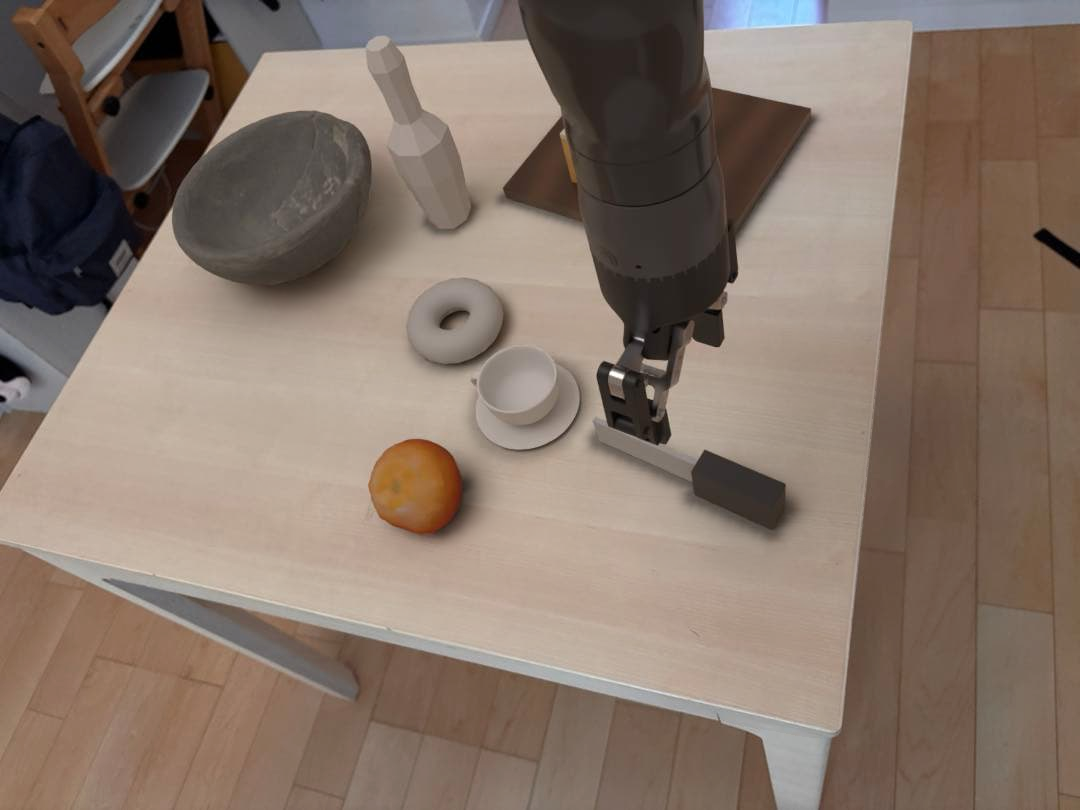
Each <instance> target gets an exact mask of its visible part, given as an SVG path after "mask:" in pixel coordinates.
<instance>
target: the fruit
mask: <svg viewBox="0 0 1080 810" xmlns="http://www.w3.org/2000/svg"><path fill="white" fill-rule="evenodd" d="M463 486H464V482H463V478H462V475H461V472H460V469H459V465H458V463H457V461H456V459H455V458H454V456H453V454H452V453H451V452H450V451H449V450H448V449H446V448H445V447H444V446H442V445H440V444H438V443H437V442H434V441H432V440H428V439H424V438H408V439H404V440H403V441H401V442H398V443H394V444H392V445H391V446H390V447H388V448H386V449H385V450H384V451H383V453H382V454H381V455H380V456H379V457H378V459H377V460H376V462H375V463H374V465H373V469H372V471H371V473H370V478H369V481H368V484H367V487H368V491H369V494H370V500H371V502H372V505H373V506H374V509H375V511H376V513H377V515H378V517H379V518H380V519H381V520H383V521H385V522H386V523H388V525H391V526H392V527H394V528H399V529H402V530H405V531H409V532H410V533H414V534H417V535H428V534H432V533H435V532H437V531H438V530H440V529H441V528H444V527H445V526H446V525H448V524H449V523H450V522H451V521H452V520H453V519H454V517H455V515H456V513H457V511H458V510H459V508H460V507H461V505H462V501H463V496H464V487H463Z"/></svg>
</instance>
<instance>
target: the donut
mask: <svg viewBox="0 0 1080 810" xmlns="http://www.w3.org/2000/svg"><path fill="white" fill-rule="evenodd" d="M461 311H462V312H463V311H464V312H467V313H469V317H468V319H466V321H465V322H464V323H463V324H461V325H460V326H458V327H456V328H452V329H443V328H441V324H442V322H443V320H444V319H445V318H446V317H448V316H449V315H450V314H453V313H455V312H461ZM503 320H504V308H503V305H502V301H501V298H500V297H499V296H498V294H497V293H496V291H495V290H494V289H493V288H492V287H491V286H490V285H488V284H487V283H484V282H482V281H481V280H478V279H475V278H469V277H455V278H449V279H446V280H443V281H440V282H437V283H435V284H434V285H432V286H430V287H429V288H427V289H425V290H424V291H423V292H422V293H421V294H420V296H418V297H417V298H416V300H415V301H414V302H413V304H412V306H411V308H410V309H409V310H408V315H407V320H406V328H405V329H406V333H407V337H408V342H409V343H410V345H411V346H412V348H413V349H414V351H415V352H416V353H418V354H419V355H420V356H422V357H423V358H424V359H426V360H427V361H430V362H434V363H439V364H443V365H447V364H459V363H462V362H463V363H464V362H465V361H469V360H472V359H474V358H476V357H477V356H480V355H481V354H483V352H485V351H487V349H489V347H490V346H491V345H493V343H494V342H495V341H496V339H497V337H498V335H499V334H500V331H501V330H502V326H503Z"/></svg>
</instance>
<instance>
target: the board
mask: <svg viewBox="0 0 1080 810" xmlns="http://www.w3.org/2000/svg"><path fill="white" fill-rule="evenodd" d="M711 89H712V98H713V106H714V119H715V132H716V146H717V153H718V157H719V160H720V164H721V168H722V173H723V178H724V185H725V200H726V215H727V217H729V218H732V219H733V222H734V232H735V235H736V234H737V232H738V231H739V229H740V227H741V226H742V225H743V223H744V222H745V220H746V218H747V217H748V216H749V214H750V213H751V211H752V209H753V208H754V207H755V205H756V203H757V202H758V201H759V199H760V197H761V196H762V194H763V193H764V191H765V190H766V188H768V187H767V186H768V185H769V184H770V182H772V181H771V180H772V179H773V178H774V176H775V174H776V173H777V172H778V170H779V168H780V167H781V165H782V164H783V162H784V161H785V159H786V158H787V156H788V155H789V154H790V152H791V150H792V149H793V147H794V146H795V144H796V143H797V141H798V140H799V138H800V137H801V135H802V133H803V132H804V130H805V129H806V127H807V126H808V125H809V123H810V121H811V120H812V119H811V118H812V108H811V107H807V106H802V105H797V104H792V103H787V102H783V101H780V100H779V101H778V100H773V99H770V98H764V97H760V96H755V95H751V94H746V93H741V92H737V91H736V92H735V91H731V90H726V89H722V88H717V87H713V86H711ZM563 129H564V125H563V120H562V115H561V116H560V117H559V118H558V120H557V121H556V122H555V123H554V125H553V126H551V128H550V129H549V131H548V132H547V133H546V135H544V136H543V138H542V139H541V140H540V142H539V143H538V144H537V146H536V147H535V148H534V149H533V150H532V151H531V152H530V154H529V155H528V156H527V157H526V158H525V160H524V161H523V162H522V163H521V165H520V166H519V167H518V169H516V170H515V172H514V173H513V175H511V177H510V178H509V180H508V181H507V182H506V183H505V184H504V186H503V187H502V190H503V191H502V192H503V193H504V196H505V198H506V199H508V200H512V201H515V202H519V203H521V204H525V205H528V206H531V207H534V208H537V209H540V210H544V211H547V212H551V213H553V214H557V215H560V216H562V217H566V218H568V219H573V220H576V221H579V222H581V223H583V220H582V216H581V212H580V207H579V199H578V186H577V183H574V182H572V181H571V177H570V173H569V169H568V165H567V161H566V157H565V153H564V149H563V145H562V141H561V137H560V133H561V132H562V130H563Z"/></svg>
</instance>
